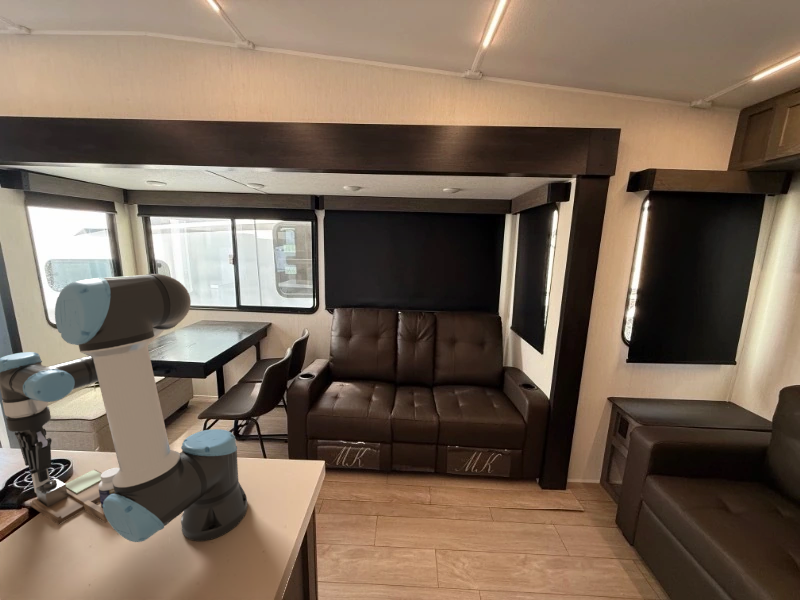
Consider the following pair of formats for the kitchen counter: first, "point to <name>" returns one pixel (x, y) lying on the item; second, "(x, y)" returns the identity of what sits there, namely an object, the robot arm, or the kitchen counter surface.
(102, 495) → the pill bottle
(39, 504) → the station
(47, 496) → the latch bolt
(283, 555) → the kitchen counter surface
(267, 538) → the kitchen counter surface
